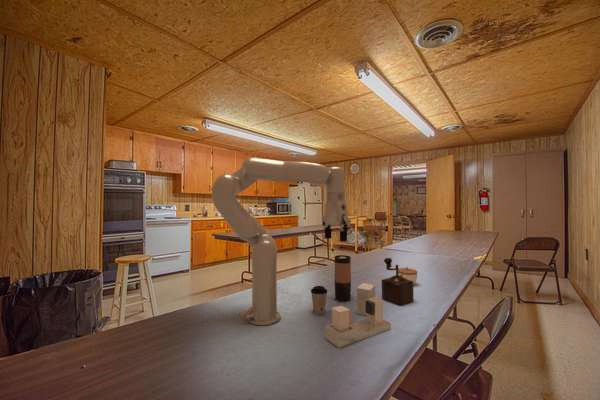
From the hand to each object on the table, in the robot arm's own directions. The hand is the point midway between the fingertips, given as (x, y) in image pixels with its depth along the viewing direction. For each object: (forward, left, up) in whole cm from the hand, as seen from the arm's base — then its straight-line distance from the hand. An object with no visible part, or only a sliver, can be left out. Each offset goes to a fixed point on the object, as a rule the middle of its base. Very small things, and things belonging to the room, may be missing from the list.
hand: (335, 239), depth 107 cm
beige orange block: (-11, -16, -28) cm, 34 cm away
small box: (+13, -4, -31) cm, 33 cm away
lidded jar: (+60, +11, -31) cm, 68 cm away
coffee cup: (-4, +6, -31) cm, 31 cm away
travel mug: (+14, +12, -31) cm, 36 cm away
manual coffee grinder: (+35, 0, -31) cm, 46 cm away
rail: (-3, -16, -30) cm, 34 cm away
